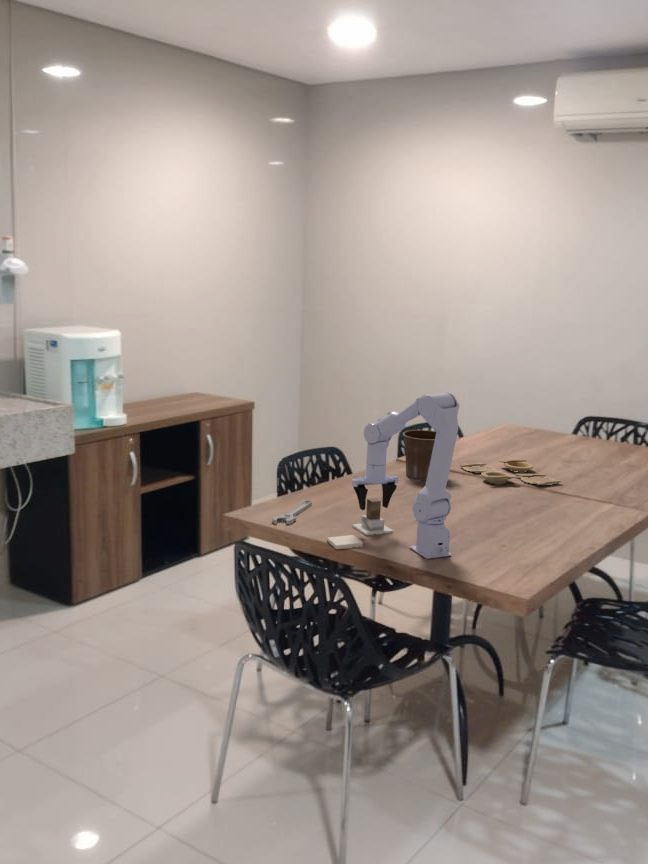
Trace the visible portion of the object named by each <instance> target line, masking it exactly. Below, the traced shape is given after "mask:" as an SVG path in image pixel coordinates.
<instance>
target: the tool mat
mask: <svg viewBox="0 0 648 864" xmlns="http://www.w3.org/2000/svg"><path fill="white" fill-rule="evenodd" d="M351 526H352V527H353V528H354V529H355V530H357V531H358V532H360V533H361V532H362V534H363V535H364V534H365V535H364V536H366V535H367V536H374V535H373V534H376V535H383V533H385V534H392V533H394V530H393V529H391V528H390V527H388V526H387V525H385V524H384V530H377V531H370V530H368V529H367V528H365V527H364V526H362V525H361V523H356V524H355V523H354V524H352V525H351ZM391 532H392V533H391Z"/></svg>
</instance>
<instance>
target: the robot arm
mask: <svg viewBox="0 0 648 864" xmlns="http://www.w3.org/2000/svg"><path fill="white" fill-rule="evenodd" d="M459 409H460V403H459V402H458V399H457V398H456V396H455V395H454V394H453V393H451V392H443V393H437V394H436V393H435V394H423V395H421V396H420V397H417V398H415V401H413V402H412V403H410V404H409V405H408V406H406V407H405V408H403V410H401V411H399V412H398V411H393V410H392V411H388V412H387V413H386V414H387V415H386V416H384V417H383V418H378V419H377V420H376V422H375V423H368V424H367V425H366V426H364V428H363V429H364V430H363V437H364V440H365V441H366V444H367V447H366V465H365V476H362V477H357V478H352V479H351V487H353V490H354V492H355V494H356V498H357V500H358V506H359V509H360V510H362V511H366V506H367V494H368V491H369V489H368V488H366V486H373V485H381V489H382V490H381V491H382V497H381V498H382V500H381V501H382V502H381V503H382V504H381V505H382V507H383V508H385V509H388V508H389V504H390V500H391V499H392V496H393V494H394V492H395V491H396V490H397V487H398V483H399V476H396V475H386V469H387V467H386V466H387V452H388V451H387V450H388V447H389V445H390V444H389V443H390V441H391V439H392V437H393V436H394V435H397V434H398V433H399V432H401V431H402V430H404V429H405V427H406V425H407V424H406V423H408V422H410V421H413V419H416V418H417V417H419V416H421V417H422V418H423V420H424V421H426V423H428V425H429V426H430V427H431V428H432V429H434V431H436V437H435V442H434V446H433V451H432V456H431V461H430V466H429V471H428V476H427V479H426V480H425V485H424V487H423V488H422V489H421V490H420V491H419V492H418V493H417V497H416V498H415V500H414V502H412V513H413V516H414V518H415V521H417V527H416V540H415V541H416V542H415V545H410V546H409V549H410V550H413V552H416V553H417V554H419V555H420V556H422V557H424V559H427V560H428V559H437V558H443V557H450V556H452V553H451V552H450V540H451V533H450V531H449V528H447V527H446V525H445V521H446V520H447V516H449V514H450V513H451V511H452V503H451V497H452V494H451V493H450V492H449V490H447V489H446V488H447V483H448V480H449V475H450V470H451V466H452V462H453V457H454V451H455V446H456V441H457V439H458V438H457V437H458V433H459V421H458V420H459V419H458V414H459Z"/></svg>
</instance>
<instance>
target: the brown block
mask: <svg viewBox="0 0 648 864" xmlns="http://www.w3.org/2000/svg"><path fill="white" fill-rule="evenodd" d="M381 501H382V500H381V499H379V498H377V497H373V498H372V497H371V498H366V514H363V515H361V521H360V522H361V523H360V524H361V525H362V526H364V527H365V528H367V529H368V530H370V531H377V530H384V525H385V519H384V518H382V517H381V508H382V507H381V505H382V504H381V503H382V502H381Z"/></svg>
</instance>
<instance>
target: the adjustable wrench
mask: <svg viewBox="0 0 648 864" xmlns="http://www.w3.org/2000/svg"><path fill="white" fill-rule="evenodd" d="M310 505H311V506H312V505H313V500H310V499H309V500H308V499H307V500H303V501H302V502H300V503H299V504H298V505H296V506H295V507H294V508H292V509H290V510H289V511H288V512H286V513H283V514H279V515H274V516H272V518H271V520H272V521H271V523H272V524H273V523H274V524H273V525H278V523H280V522H279V521H281V522H284V521H286V522H285V524H289V525H292V524H294V523H295V522H294V521H296V522H297V518H296V516H298V515H299V514H301V513H302V512H304V511H305V510H306V509H307V508H309V507H311V506H310ZM297 514H298V515H297ZM294 516H295V517H294ZM293 522H294V523H293ZM291 523H292V524H291Z"/></svg>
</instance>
